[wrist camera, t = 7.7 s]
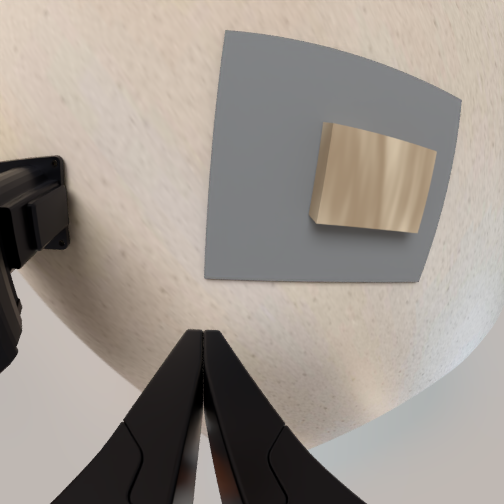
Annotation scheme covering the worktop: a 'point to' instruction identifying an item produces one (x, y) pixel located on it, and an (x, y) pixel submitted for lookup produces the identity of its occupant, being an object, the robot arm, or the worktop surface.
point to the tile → (370, 180)
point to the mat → (312, 161)
